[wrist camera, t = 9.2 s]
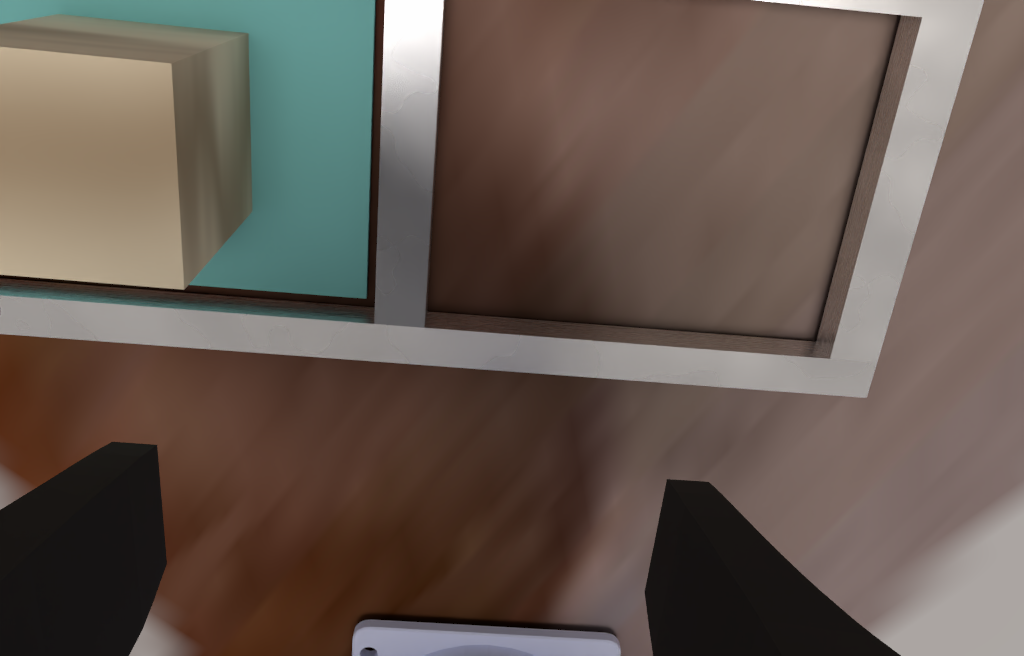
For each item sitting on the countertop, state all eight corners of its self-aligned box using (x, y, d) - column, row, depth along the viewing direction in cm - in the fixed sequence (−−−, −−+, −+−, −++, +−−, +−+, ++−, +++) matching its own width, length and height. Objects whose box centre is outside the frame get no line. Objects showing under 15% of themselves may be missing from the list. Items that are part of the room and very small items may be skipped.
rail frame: (851, 379, 23) (866, 398, 22) (-79, 309, 21) (-104, 325, 21) (968, -31, 19) (992, -29, 18) (-169, -150, 17) (-205, -154, 17)
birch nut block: (252, 211, 20) (184, 289, 16) (77, 196, 20) (-43, 271, 16) (249, 33, 19) (170, 63, 14) (58, 14, 19) (-82, 38, 14)
